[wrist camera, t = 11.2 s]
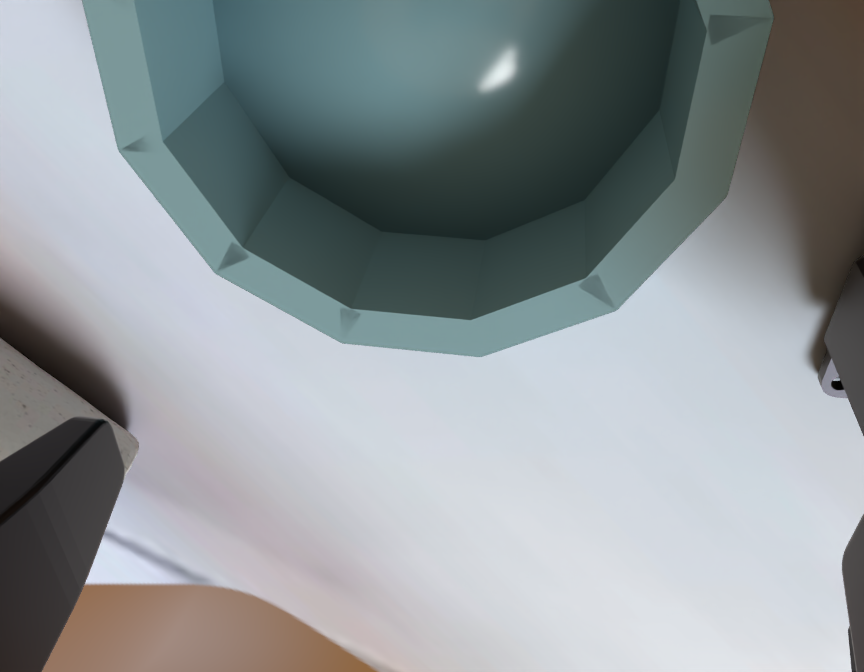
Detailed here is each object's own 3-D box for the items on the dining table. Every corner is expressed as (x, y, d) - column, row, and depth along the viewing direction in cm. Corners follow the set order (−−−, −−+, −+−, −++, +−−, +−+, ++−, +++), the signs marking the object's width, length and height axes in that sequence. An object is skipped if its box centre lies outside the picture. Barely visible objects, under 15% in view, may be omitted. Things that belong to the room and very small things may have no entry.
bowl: (792, -318, 14) (867, -339, 10) (661, 269, 21) (679, 376, 17) (136, -323, 15) (-1, -343, 11) (227, 231, 22) (160, 325, 19)
